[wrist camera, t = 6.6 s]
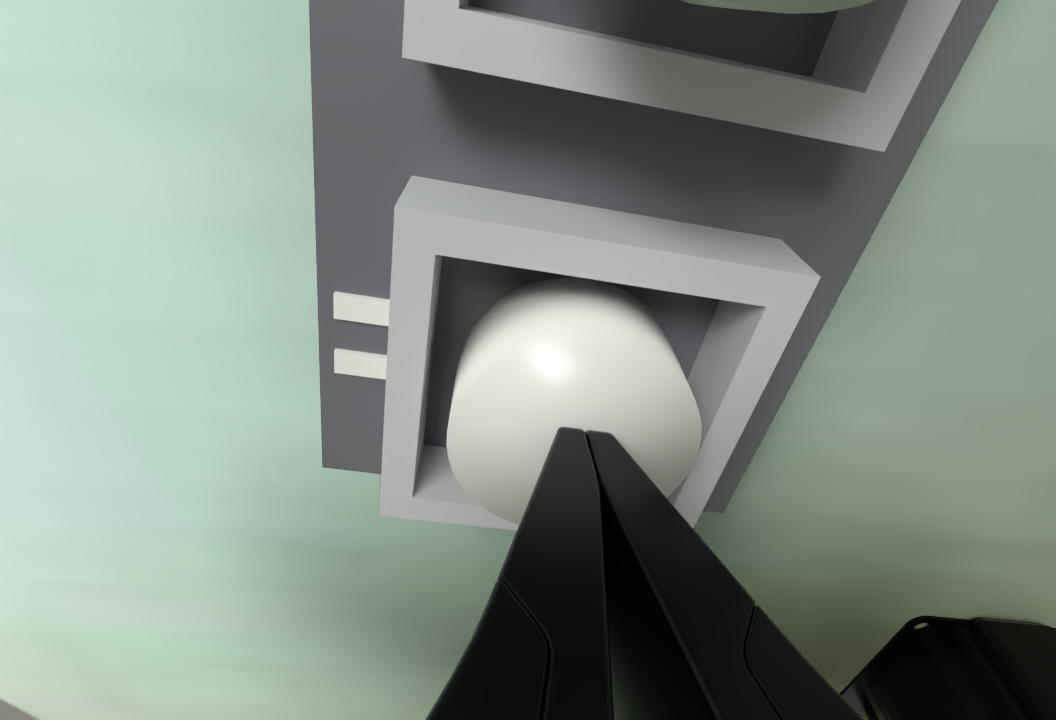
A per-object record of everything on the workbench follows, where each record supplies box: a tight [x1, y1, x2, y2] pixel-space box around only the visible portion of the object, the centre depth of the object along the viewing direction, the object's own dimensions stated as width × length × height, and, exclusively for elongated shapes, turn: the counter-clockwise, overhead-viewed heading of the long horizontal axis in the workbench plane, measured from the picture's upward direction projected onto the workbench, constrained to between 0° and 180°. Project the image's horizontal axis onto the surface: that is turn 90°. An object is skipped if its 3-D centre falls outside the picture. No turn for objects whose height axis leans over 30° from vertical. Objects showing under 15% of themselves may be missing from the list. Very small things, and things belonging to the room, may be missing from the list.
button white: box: [446, 278, 702, 525], centre depth 10 cm, size 4×4×2 cm
